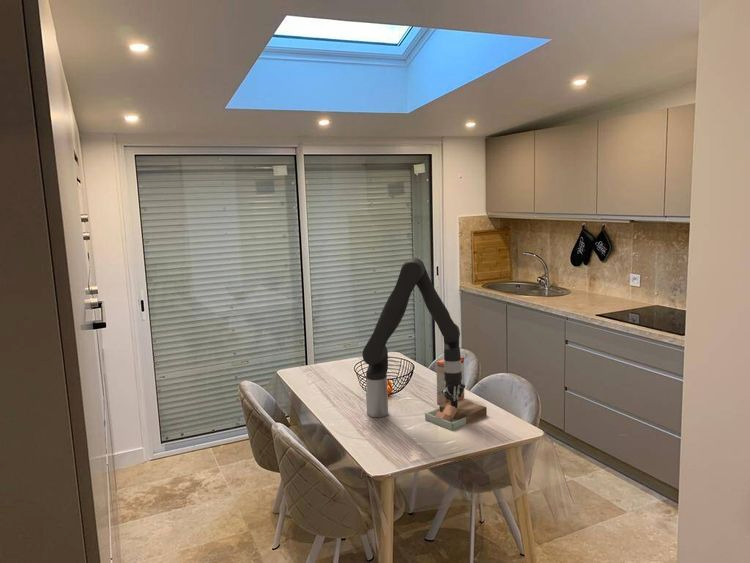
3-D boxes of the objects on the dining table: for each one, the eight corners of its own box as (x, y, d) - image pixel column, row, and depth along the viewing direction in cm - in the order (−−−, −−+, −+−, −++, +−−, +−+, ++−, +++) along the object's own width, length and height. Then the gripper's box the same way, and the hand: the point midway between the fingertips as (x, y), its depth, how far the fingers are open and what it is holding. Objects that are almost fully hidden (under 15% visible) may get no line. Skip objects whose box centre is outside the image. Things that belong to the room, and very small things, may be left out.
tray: (425, 419, 237) (424, 413, 237) (439, 414, 242) (438, 407, 242) (452, 430, 225) (452, 423, 224) (466, 424, 230) (466, 417, 230)
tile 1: (443, 414, 235) (441, 420, 235) (437, 410, 233) (435, 416, 232) (451, 417, 232) (448, 422, 231) (445, 413, 229) (442, 419, 229)
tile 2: (444, 416, 236) (442, 413, 235) (450, 407, 238) (447, 404, 236) (452, 418, 232) (449, 415, 231) (457, 410, 234) (454, 406, 233)
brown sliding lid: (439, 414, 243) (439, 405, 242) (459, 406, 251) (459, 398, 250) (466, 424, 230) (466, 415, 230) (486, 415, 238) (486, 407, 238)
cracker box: (446, 407, 250) (445, 363, 247) (436, 404, 255) (435, 360, 252) (465, 398, 260) (464, 356, 257) (455, 396, 264) (454, 354, 261)
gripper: (456, 364, 241) (458, 401, 243) (435, 371, 233) (437, 410, 235) (469, 367, 235) (471, 406, 238) (448, 375, 227) (450, 414, 229)
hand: (454, 408), depth 236 cm, fingers closed
